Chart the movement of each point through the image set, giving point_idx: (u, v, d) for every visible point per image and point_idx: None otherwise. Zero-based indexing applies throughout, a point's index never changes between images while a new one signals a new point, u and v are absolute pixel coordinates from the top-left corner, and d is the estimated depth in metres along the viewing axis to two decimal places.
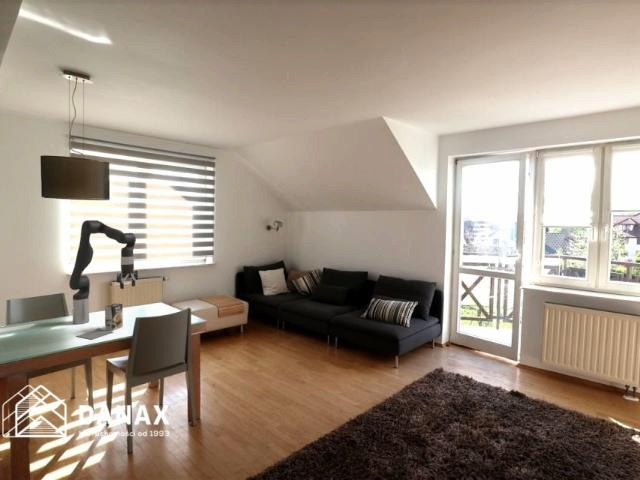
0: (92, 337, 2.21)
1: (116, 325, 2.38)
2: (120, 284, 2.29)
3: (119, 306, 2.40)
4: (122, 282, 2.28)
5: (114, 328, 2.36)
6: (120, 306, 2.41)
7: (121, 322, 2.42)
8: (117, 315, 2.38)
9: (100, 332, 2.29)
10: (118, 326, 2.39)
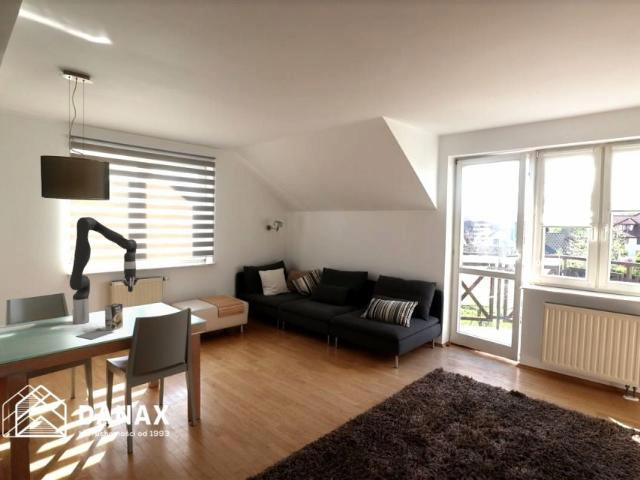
0: (92, 337, 2.21)
1: (116, 325, 2.38)
2: (128, 287, 2.50)
3: (119, 306, 2.40)
4: (130, 286, 2.49)
5: (114, 328, 2.36)
6: (120, 306, 2.41)
7: (121, 322, 2.42)
8: (117, 315, 2.38)
9: (100, 332, 2.29)
10: (118, 326, 2.39)
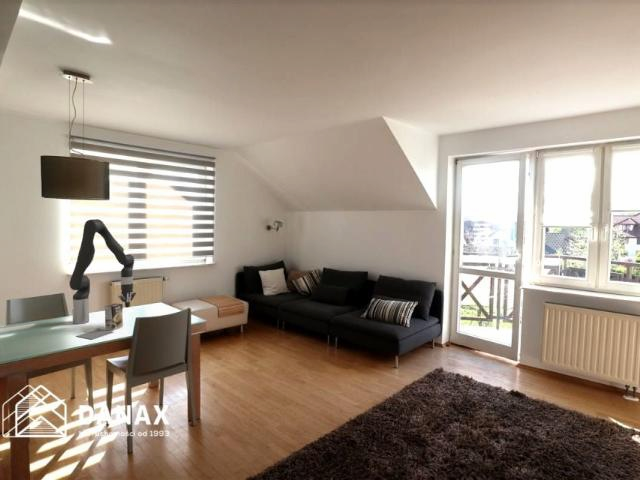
0: (92, 337, 2.21)
1: (116, 325, 2.38)
2: (125, 303, 2.48)
3: (119, 306, 2.40)
4: (127, 301, 2.47)
5: (114, 328, 2.36)
6: (120, 306, 2.41)
7: (121, 322, 2.42)
8: (117, 315, 2.38)
9: (100, 332, 2.29)
10: (118, 326, 2.39)
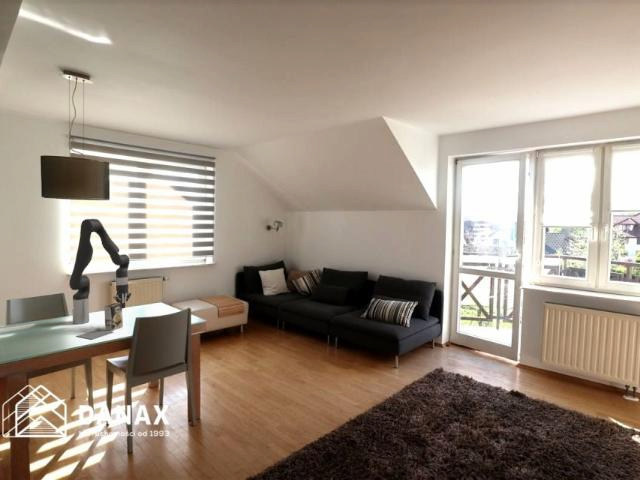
0: (92, 337, 2.21)
1: (116, 325, 2.38)
2: None
3: (118, 306, 2.39)
4: (122, 302, 2.44)
5: (114, 328, 2.36)
6: (119, 306, 2.40)
7: (121, 322, 2.42)
8: (117, 315, 2.38)
9: (100, 332, 2.29)
10: (118, 326, 2.39)
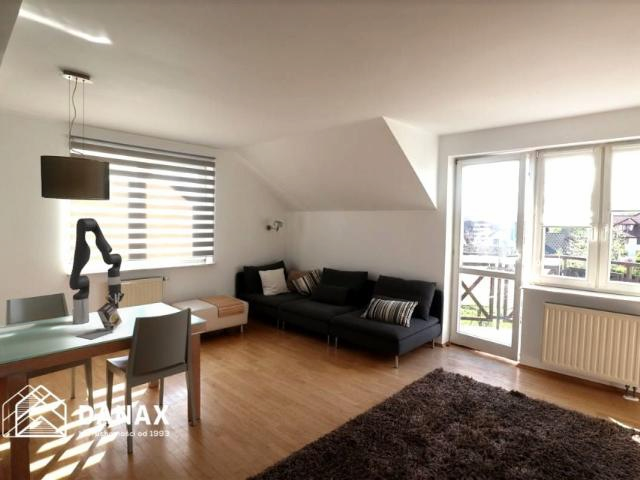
0: (92, 337, 2.21)
1: (115, 325, 2.36)
2: None
3: (111, 307, 2.33)
4: (115, 302, 2.37)
5: (113, 328, 2.35)
6: (112, 306, 2.34)
7: (119, 319, 2.39)
8: (112, 316, 2.34)
9: (100, 332, 2.29)
10: (117, 324, 2.38)
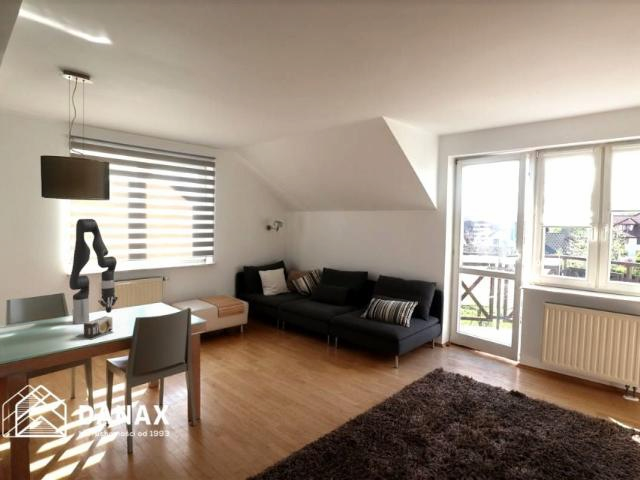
0: None
1: (109, 326, 2.32)
2: (106, 308, 2.34)
3: (93, 328, 2.20)
4: (108, 306, 2.34)
5: (111, 328, 2.34)
6: (93, 327, 2.20)
7: (108, 320, 2.31)
8: (100, 328, 2.25)
9: None
10: (110, 324, 2.33)
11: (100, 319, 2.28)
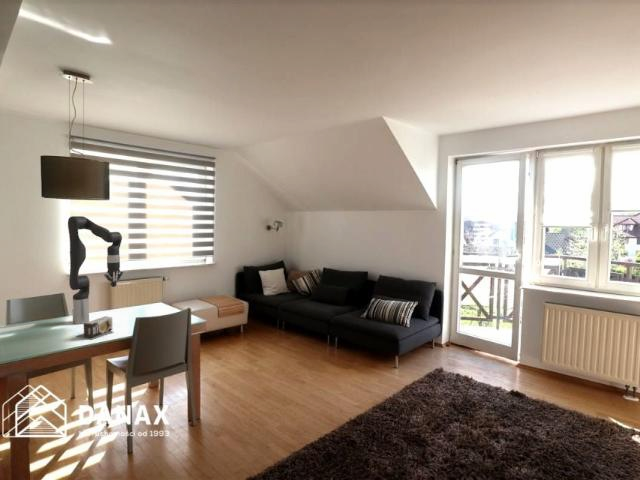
0: None
1: (109, 326, 2.32)
2: (111, 282, 2.39)
3: (93, 328, 2.20)
4: (113, 280, 2.38)
5: (111, 328, 2.34)
6: (93, 327, 2.20)
7: (108, 320, 2.31)
8: (100, 328, 2.25)
9: None
10: (110, 324, 2.33)
11: (100, 319, 2.28)
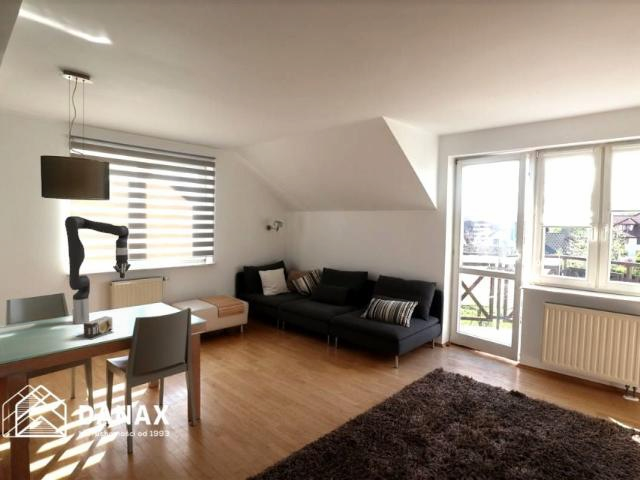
0: None
1: (109, 326, 2.32)
2: (120, 274, 2.50)
3: (93, 328, 2.20)
4: (122, 272, 2.49)
5: (111, 328, 2.34)
6: (93, 327, 2.20)
7: (108, 320, 2.31)
8: (100, 328, 2.25)
9: None
10: (110, 324, 2.33)
11: (100, 319, 2.28)
